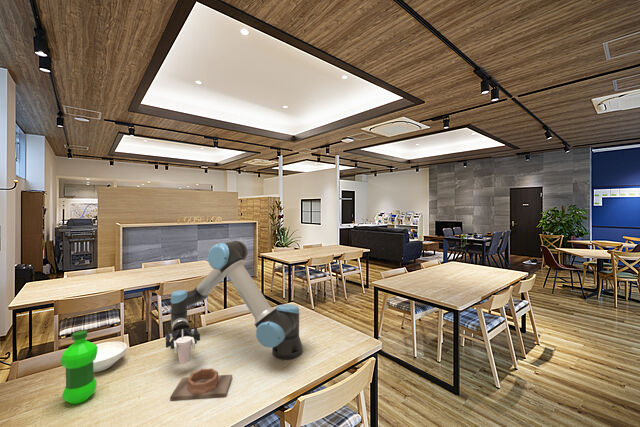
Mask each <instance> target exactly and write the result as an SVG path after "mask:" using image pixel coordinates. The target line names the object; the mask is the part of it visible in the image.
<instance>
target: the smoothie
mask: <svg viewBox="0 0 640 427" xmlns="http://www.w3.org/2000/svg"><path fill="white" fill-rule="evenodd" d="M191 341H192V338H191V337H189V336H185V337H183V329H182V337H181V338H178V339H177V340H176V346H177V356H178V363H179V364H180V365H185V364H187V363H188V362H189V361H190V353H191V346H192V344H191Z"/></svg>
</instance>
